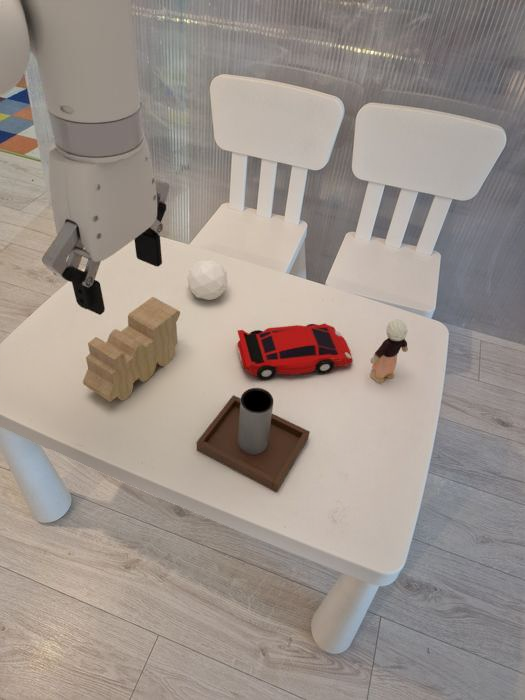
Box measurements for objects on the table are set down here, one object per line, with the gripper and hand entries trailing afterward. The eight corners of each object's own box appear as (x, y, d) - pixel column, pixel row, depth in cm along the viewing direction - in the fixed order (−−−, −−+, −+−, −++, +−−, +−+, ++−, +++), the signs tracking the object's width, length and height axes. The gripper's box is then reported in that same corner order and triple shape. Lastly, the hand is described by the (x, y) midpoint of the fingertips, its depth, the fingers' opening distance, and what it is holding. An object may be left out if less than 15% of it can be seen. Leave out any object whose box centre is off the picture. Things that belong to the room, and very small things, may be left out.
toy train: (86, 395, 84) (74, 352, 77) (158, 337, 95) (154, 294, 87) (111, 412, 82) (101, 369, 75) (182, 351, 93) (180, 308, 85)
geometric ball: (197, 302, 106) (180, 266, 104) (233, 286, 106) (217, 250, 103) (197, 310, 99) (178, 271, 96) (236, 293, 99) (218, 254, 96)
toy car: (356, 369, 92) (362, 349, 89) (246, 388, 88) (248, 368, 84) (335, 329, 99) (339, 309, 96) (232, 344, 95) (232, 324, 91)
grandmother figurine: (385, 359, 95) (403, 306, 86) (402, 372, 93) (423, 319, 84) (357, 379, 91) (373, 326, 82) (374, 393, 89) (393, 340, 80)
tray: (196, 450, 79) (196, 442, 77) (232, 402, 85) (233, 394, 84) (276, 492, 75) (277, 485, 73) (308, 439, 81) (309, 431, 80)
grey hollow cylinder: (267, 456, 78) (273, 414, 71) (237, 454, 78) (239, 412, 70) (267, 431, 81) (273, 388, 74) (238, 429, 81) (241, 386, 74)
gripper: (127, 88, 52) (143, 236, 64) (-16, 152, 41) (36, 316, 53) (191, 107, 50) (195, 256, 62) (58, 180, 39) (94, 344, 51)
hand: (122, 283), depth 57 cm, fingers open, 9 cm apart
